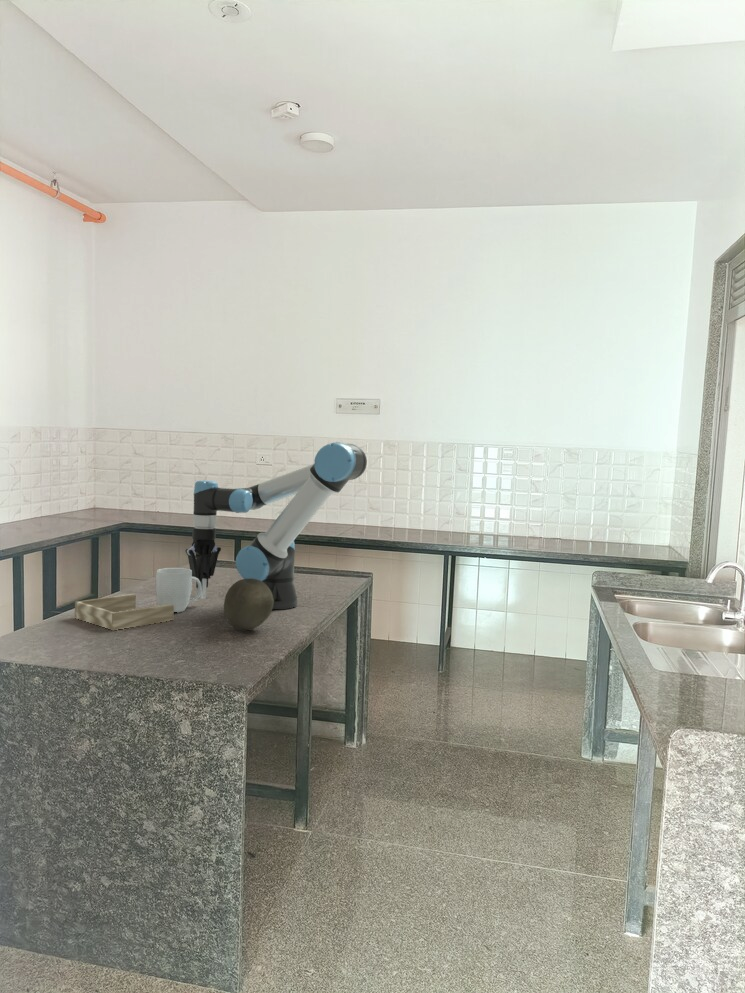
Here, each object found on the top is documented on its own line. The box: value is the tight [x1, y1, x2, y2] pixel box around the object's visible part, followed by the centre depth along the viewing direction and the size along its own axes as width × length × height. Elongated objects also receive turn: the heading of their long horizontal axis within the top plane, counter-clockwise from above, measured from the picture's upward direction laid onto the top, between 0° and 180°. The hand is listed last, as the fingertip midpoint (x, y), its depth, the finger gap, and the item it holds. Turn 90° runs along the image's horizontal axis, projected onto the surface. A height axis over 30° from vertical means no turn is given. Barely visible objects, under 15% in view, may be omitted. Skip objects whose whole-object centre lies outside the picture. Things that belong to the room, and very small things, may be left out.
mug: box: [155, 567, 202, 613], centre depth 235 cm, size 15×11×13 cm
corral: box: [74, 593, 175, 631], centre depth 220 cm, size 21×20×5 cm
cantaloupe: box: [223, 578, 274, 631], centre depth 214 cm, size 14×14×15 cm
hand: (201, 597), depth 243 cm, fingers closed
